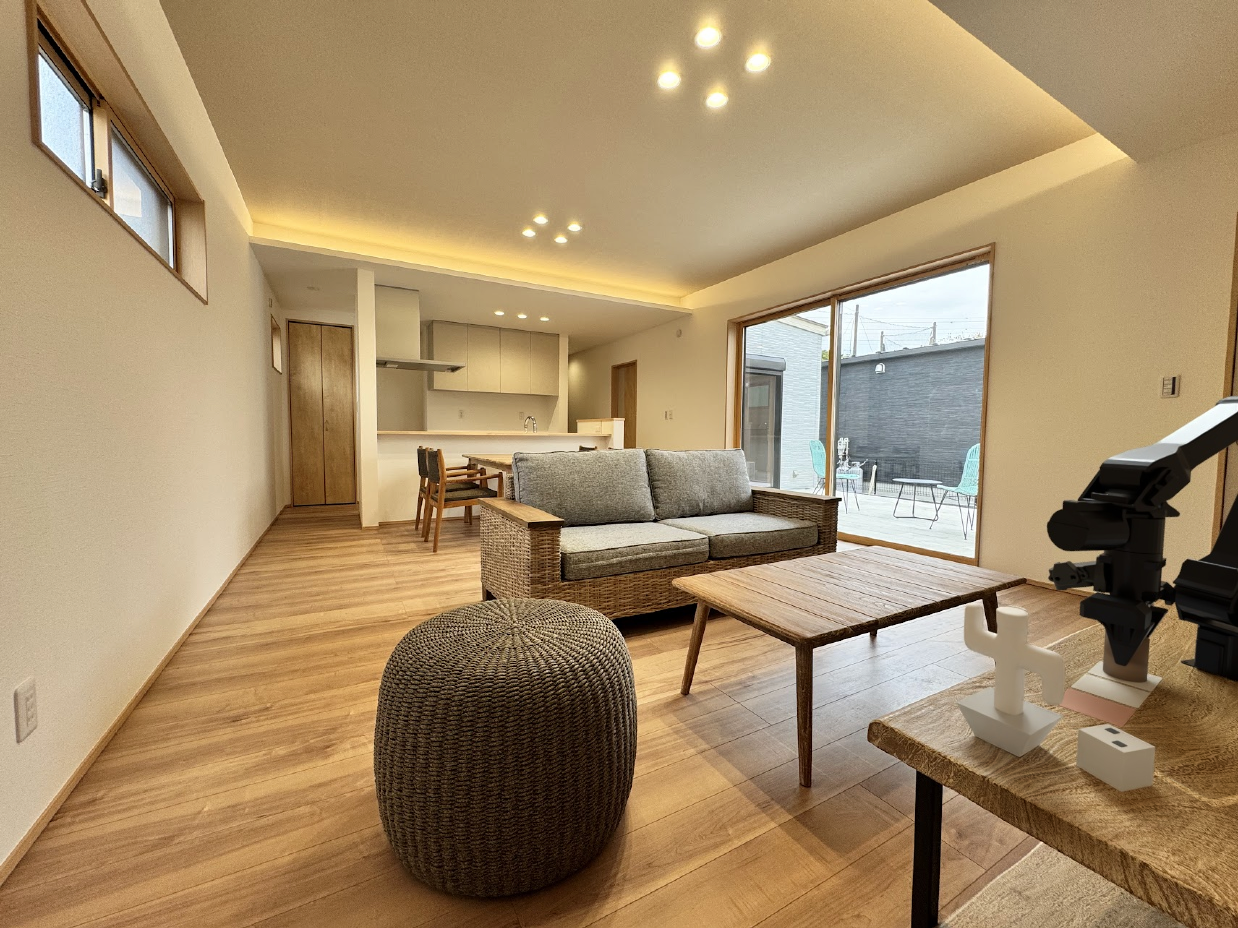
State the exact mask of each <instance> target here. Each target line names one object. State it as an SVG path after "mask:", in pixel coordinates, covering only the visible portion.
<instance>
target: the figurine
mask: <svg viewBox="0 0 1238 928" xmlns="http://www.w3.org/2000/svg"><path fill="white" fill-rule="evenodd" d="M995 611H996V614H995V615H996V616H995V617H996V620H995V621H996V625H997V629H996V630H997V633H995V632H992V631H988V630H987V629H986V628H985V624H984V616H985V615H984V614H985V613H984V607H983V605H981V604H980V603H977V602H970V603H967V605H966V606H965V607H964V616H963V620H964V621H963V641H964V645H965V646H966V648H968V649H969V650H970V651H972V652H973V653H977V654H979V655H982V656H986V657H988V658H991V659H993V660H994V661H995V669H994V670H995V673H994V687H991V686H987V687H986V688H983V689H981V690H979V691H977V692H974V693H973V694H970V695H968V696H966V697H964V698H961V699H959V700H957V701H956V702H955V704H956V705H957V706H958V708H959V710H960V712H961V715H962V716H963V718H964V719H965V720H966V721H965V722H967V724H968V726H969V728H970V730H971V731H972V734H973V735H974V737H977V738H979V739H980V740H982V741H985V742H986V743H989V744H991V745H993V746H995V747H997V748H999V749H1002V750H1004V751H1006V752H1007V753H1010V754H1012V755H1014V756H1016V757H1018V758H1021V757H1022V756H1023V755H1026V754H1027V753H1028V752H1030V751H1032V750H1034V749H1035V748H1037V747H1039V746H1040V745H1041V744H1042V742H1043V741H1044V740H1045V739H1046V738H1047V736H1048V735H1050V733H1051V732H1052V730H1054V728H1055V727H1056V726H1057V724H1058V723H1059V722H1060V721H1061V720H1062V718H1063V717H1064V715H1062V714H1060V713H1058V712H1054V711H1053V710H1050V709H1047V708H1045V707H1042V706H1039V705H1037V704H1035V703H1033V702H1029V701H1027V700H1025V685H1026V684H1025V683H1026V671H1029V672H1031V673H1034V674H1037V675H1039V677H1040V681H1041V698H1042V701H1043V702H1044V703H1045V704H1047V705H1050V706H1059V705H1060V704H1061V703H1062V702H1063V699H1064V692H1065V681H1066V664H1065V663H1066V662H1065V660H1064V658H1063V656H1062V655H1061V654H1059V653H1058V652H1056V651H1054V650H1051V649H1048V648H1047V649H1046V648H1044V647H1040V646H1037V645H1033V644H1032V643H1031V644H1030V643H1029V641H1028V635H1030V633H1031V631H1030V627H1029V622H1030V621H1029V620H1030V619H1029V617H1030V616H1029V612H1028V610H1027V609H1026V608H1024V607H1020V606H1017V605H1011V604H1008V605H1007V606H1000V607H997V608H996V610H995Z"/></svg>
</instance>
